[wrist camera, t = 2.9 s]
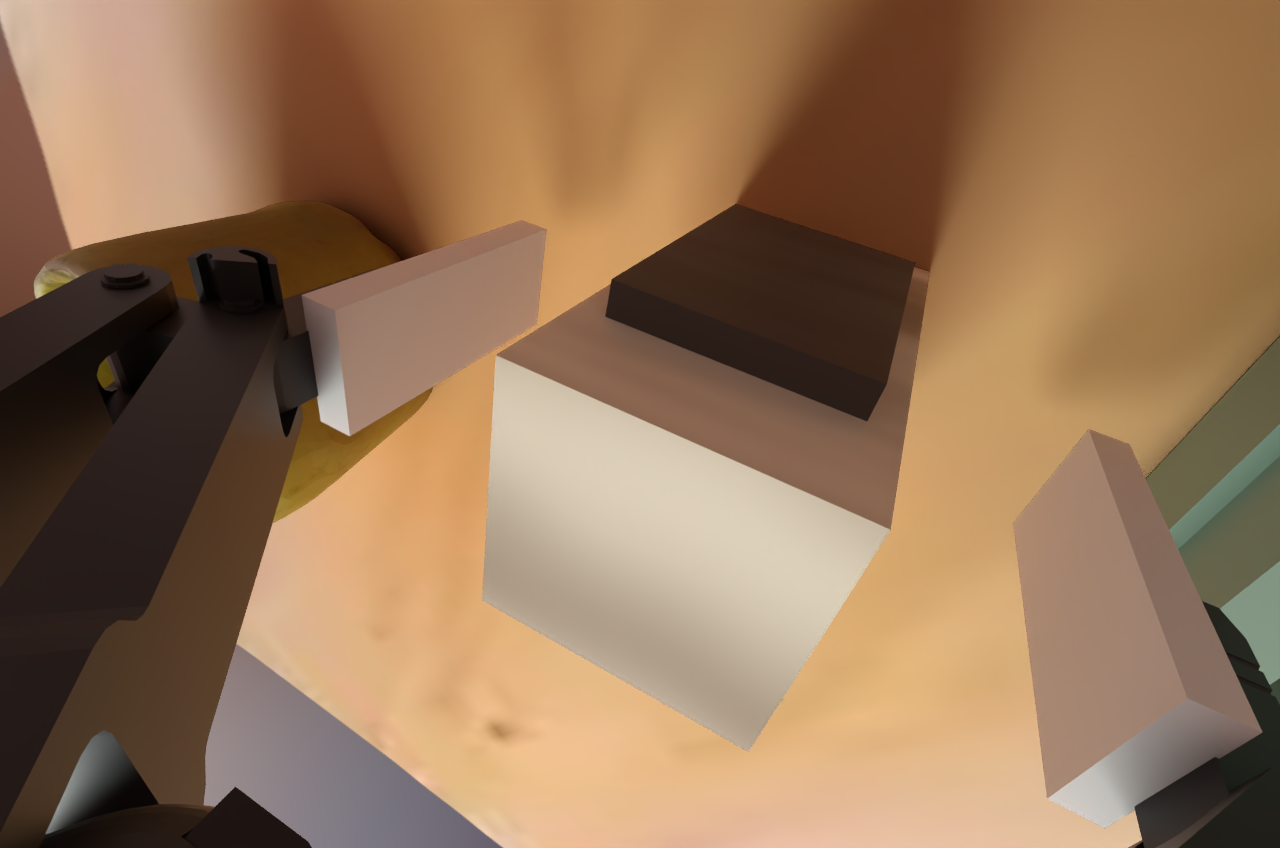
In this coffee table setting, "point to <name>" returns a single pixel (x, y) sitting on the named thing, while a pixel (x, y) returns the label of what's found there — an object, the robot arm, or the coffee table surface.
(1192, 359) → the coffee table surface
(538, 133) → the coffee table surface
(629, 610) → the block
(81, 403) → the robot arm
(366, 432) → the mug
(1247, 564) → the teal slotted holder
